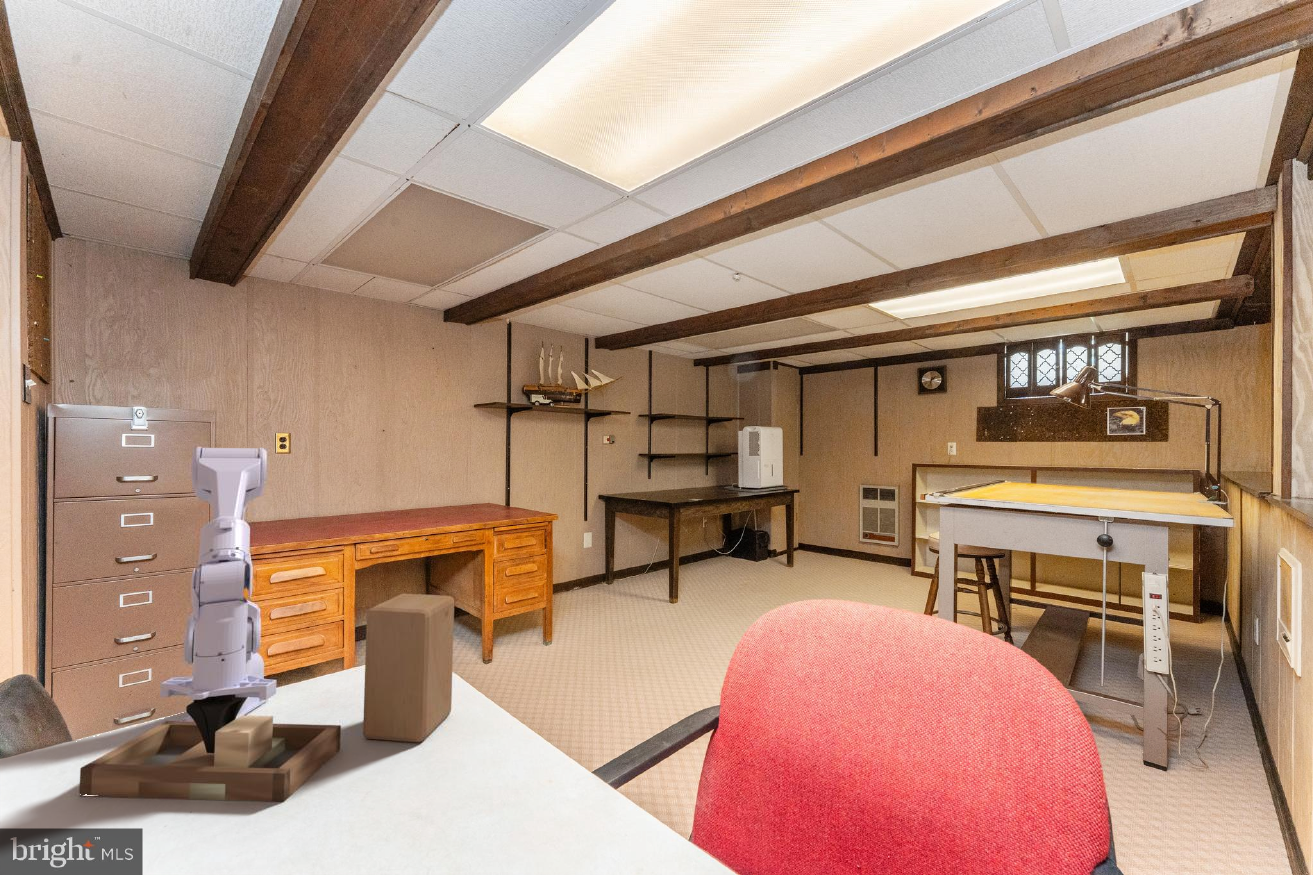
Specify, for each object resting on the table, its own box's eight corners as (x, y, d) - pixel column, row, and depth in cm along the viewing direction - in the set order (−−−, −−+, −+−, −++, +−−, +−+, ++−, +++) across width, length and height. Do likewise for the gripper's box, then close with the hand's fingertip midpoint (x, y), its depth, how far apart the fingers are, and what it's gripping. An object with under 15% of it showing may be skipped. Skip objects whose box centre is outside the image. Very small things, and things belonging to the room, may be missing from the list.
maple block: (240, 747, 77) (241, 715, 77) (271, 748, 77) (273, 716, 77) (214, 766, 73) (215, 731, 73) (247, 766, 72) (248, 732, 73)
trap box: (165, 744, 81) (166, 720, 81) (340, 749, 81) (340, 725, 81) (79, 796, 69) (80, 768, 69) (283, 801, 69) (284, 773, 69)
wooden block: (453, 713, 92) (456, 594, 93) (422, 745, 82) (426, 611, 83) (397, 709, 93) (400, 591, 94) (359, 740, 83) (363, 608, 84)
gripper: (140, 659, 71) (136, 764, 71) (250, 661, 71) (247, 767, 71) (187, 640, 78) (183, 736, 78) (288, 642, 78) (284, 738, 78)
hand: (216, 749), depth 75 cm, fingers closed
